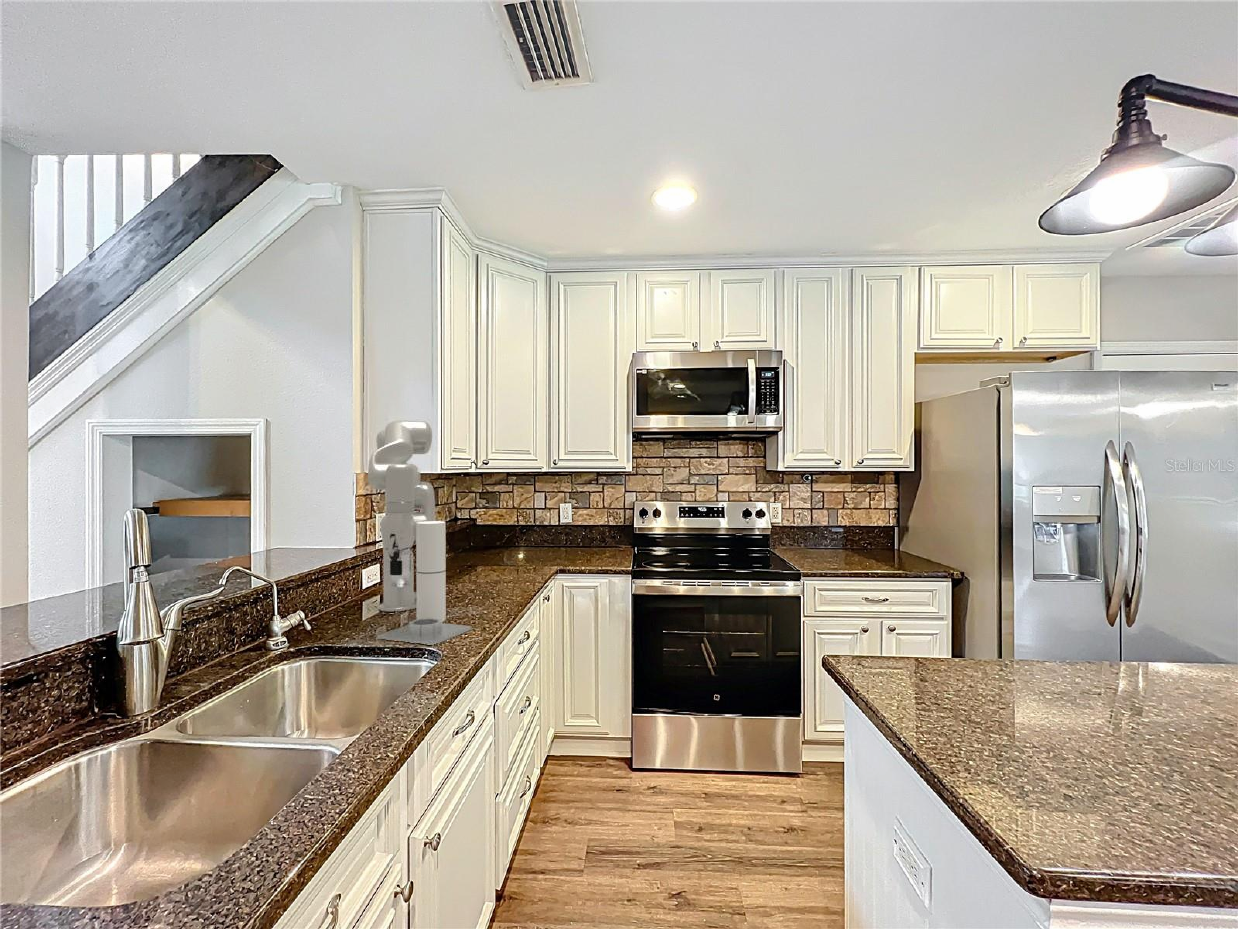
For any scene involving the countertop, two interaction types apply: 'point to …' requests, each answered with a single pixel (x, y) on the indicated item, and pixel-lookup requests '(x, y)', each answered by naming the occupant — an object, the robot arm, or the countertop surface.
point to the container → (431, 569)
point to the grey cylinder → (405, 577)
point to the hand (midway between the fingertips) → (400, 572)
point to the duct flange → (425, 631)
